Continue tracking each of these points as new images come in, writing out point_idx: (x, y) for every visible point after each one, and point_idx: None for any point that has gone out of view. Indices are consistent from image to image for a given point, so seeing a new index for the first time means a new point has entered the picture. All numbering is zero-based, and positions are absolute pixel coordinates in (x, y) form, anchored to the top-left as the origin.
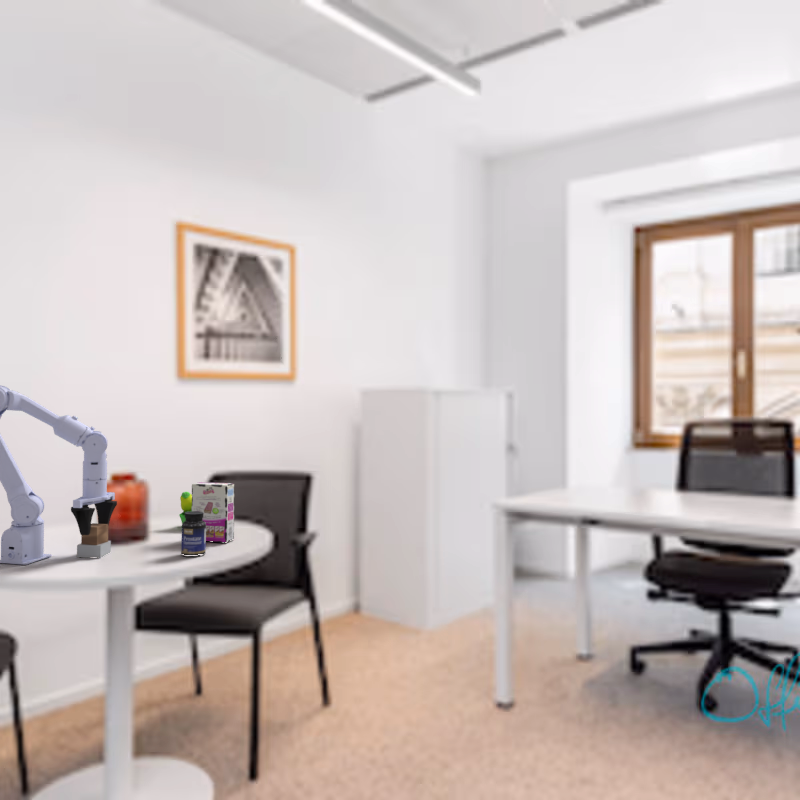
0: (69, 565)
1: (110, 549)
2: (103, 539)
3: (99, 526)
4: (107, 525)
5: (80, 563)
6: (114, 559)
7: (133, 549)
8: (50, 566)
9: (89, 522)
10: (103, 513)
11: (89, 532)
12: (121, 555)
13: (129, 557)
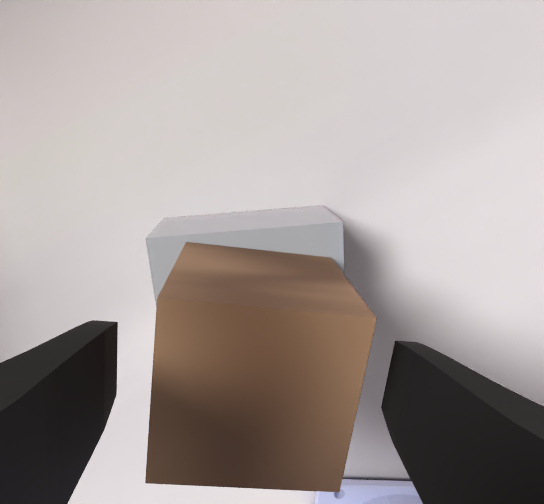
0: (504, 288)
1: (161, 223)
2: (249, 256)
3: (321, 321)
4: (176, 293)
5: (457, 254)
6: (342, 94)
7: (15, 105)
8: (523, 368)
9: (514, 397)
10: (28, 494)
11: (413, 346)
12: (220, 103)
13: (270, 8)
